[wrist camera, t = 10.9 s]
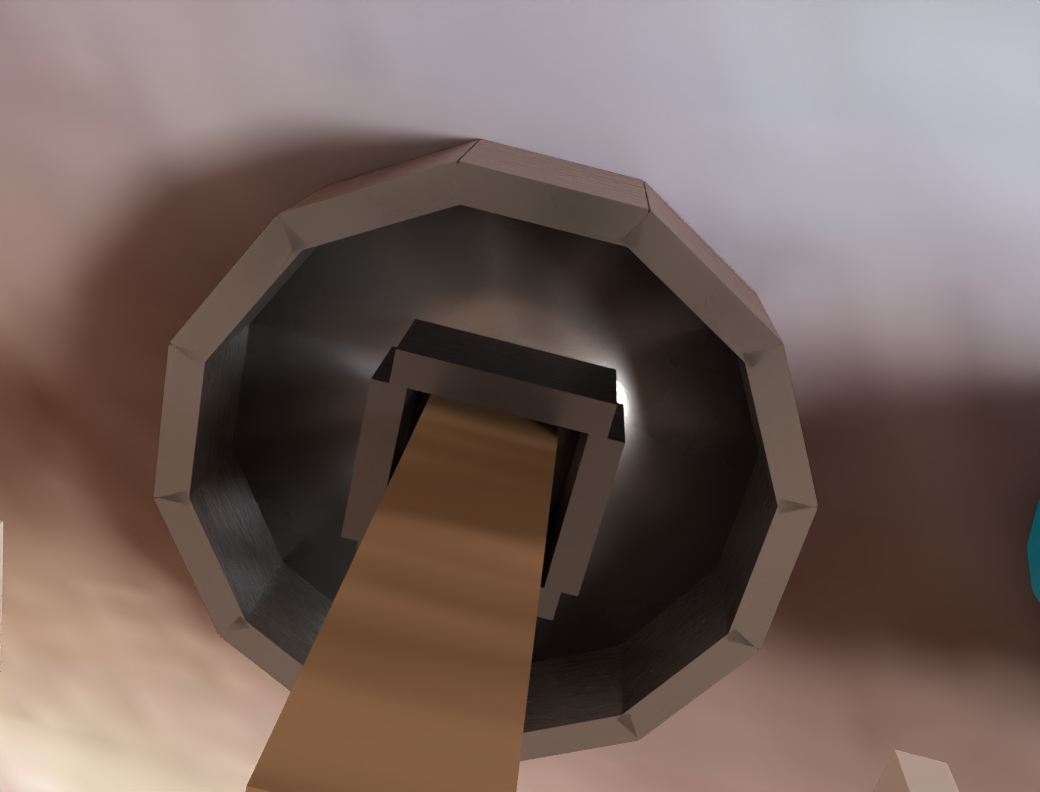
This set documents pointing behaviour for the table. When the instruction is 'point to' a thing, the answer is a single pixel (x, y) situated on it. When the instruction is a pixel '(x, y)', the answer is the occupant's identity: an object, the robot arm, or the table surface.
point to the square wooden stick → (429, 621)
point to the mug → (1035, 553)
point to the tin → (503, 387)
